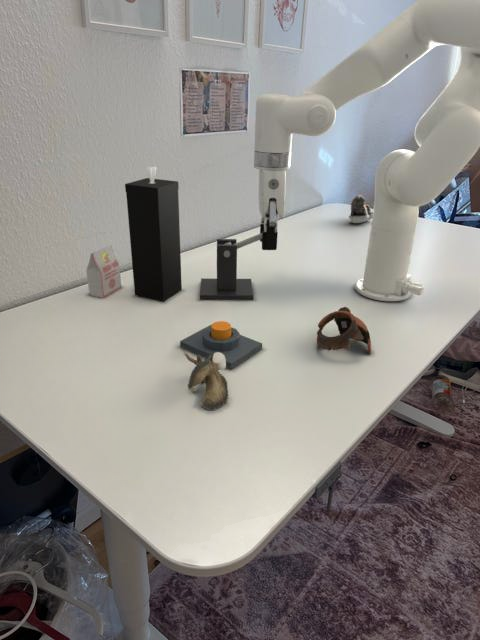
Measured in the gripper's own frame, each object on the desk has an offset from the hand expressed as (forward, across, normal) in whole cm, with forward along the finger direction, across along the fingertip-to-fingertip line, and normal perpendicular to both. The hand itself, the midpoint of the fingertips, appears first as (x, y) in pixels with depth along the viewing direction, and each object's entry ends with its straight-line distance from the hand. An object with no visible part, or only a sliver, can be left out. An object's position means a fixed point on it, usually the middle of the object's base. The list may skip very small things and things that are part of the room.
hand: (267, 244), depth 106 cm
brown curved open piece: (+12, -26, -12) cm, 31 cm away
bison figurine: (+11, +62, -39) cm, 74 cm away
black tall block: (+12, -1, +25) cm, 27 cm away
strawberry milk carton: (+12, 0, +37) cm, 39 cm away
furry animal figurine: (+12, -40, +13) cm, 44 cm away
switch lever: (+1, 0, +4) cm, 4 cm away
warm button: (+9, -26, +10) cm, 30 cm away
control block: (+11, -26, +10) cm, 31 cm away
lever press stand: (+11, 0, +9) cm, 15 cm away
